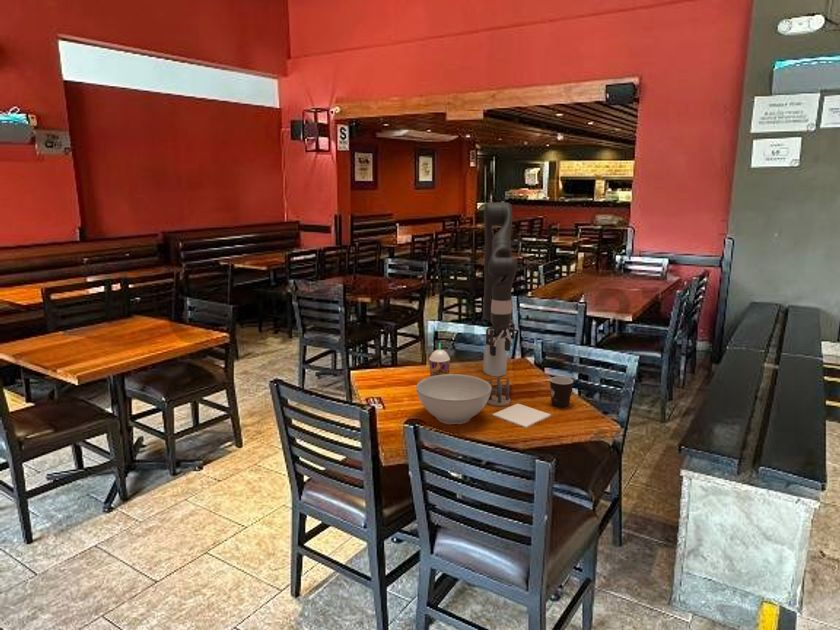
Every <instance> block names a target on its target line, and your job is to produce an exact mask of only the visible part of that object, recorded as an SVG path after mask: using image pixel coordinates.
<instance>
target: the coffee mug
mask: <svg viewBox="0 0 840 630" xmlns="http://www.w3.org/2000/svg"><path fill="white" fill-rule="evenodd" d="M573 385H574V380H573V378H570V377H568V376H553V377H550V378H549V387H550V388H549V389H550V390H549V391H550V400H551V401H550V402H551V407H553V408H555V407H556V409H568V408H569V407H570V401H571V395H572V391H573Z"/></svg>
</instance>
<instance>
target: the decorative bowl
mask: <svg viewBox="0 0 840 630" xmlns="http://www.w3.org/2000/svg"><path fill="white" fill-rule="evenodd" d="M415 388H416V392H417V393H416V394H417V396H418V399H419V401H420V402H421V404H422V406H423V407H424V409H425V410H426V411H427V412H428V413H429V414H430V415H432V416H433V417H435V418H436V420H437V421H438V420H439V421H438V422H440V423H442V422H443V423H442V424H445V423H446V424H445V425H451V424H458V425H463V423H464V424H466V423H468V422H470V420H471V419H472V418H473V417H475V416H476V415H478V414H479V413H480V412H482V410H483V409H484V407H485V406H486V405H487V401H488V399H489V397H490V394H491V390H492V388H493V386H492V387H491V385H490V384H489V381H487V380H485V379H483V378H480V377H477V376H474V375H468V374H460V373H459V374H458V373H449V374H444V375H436V376H428V377H425V378H423V379H422V380H421V379H420V381H419V382H418V383H417V384H416V386H415Z"/></svg>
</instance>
